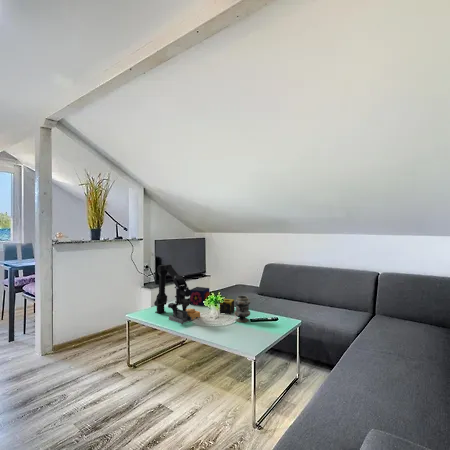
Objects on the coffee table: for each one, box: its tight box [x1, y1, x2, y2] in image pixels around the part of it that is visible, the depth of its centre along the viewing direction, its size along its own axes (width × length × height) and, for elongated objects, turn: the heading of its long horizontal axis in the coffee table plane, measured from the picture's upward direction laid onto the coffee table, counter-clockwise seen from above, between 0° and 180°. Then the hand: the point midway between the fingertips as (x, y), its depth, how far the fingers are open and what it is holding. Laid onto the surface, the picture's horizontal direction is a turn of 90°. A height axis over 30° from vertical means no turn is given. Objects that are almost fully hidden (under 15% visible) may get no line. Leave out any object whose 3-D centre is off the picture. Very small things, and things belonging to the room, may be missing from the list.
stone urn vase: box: [233, 295, 251, 323], centre depth 227 cm, size 12×12×18 cm
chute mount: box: [168, 315, 193, 325], centre depth 230 cm, size 16×10×3 cm, turn 48°
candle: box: [219, 298, 236, 315], centre depth 248 cm, size 10×10×10 cm
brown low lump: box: [186, 307, 201, 320], centre depth 237 cm, size 12×10×6 cm
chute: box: [172, 308, 187, 321], centre depth 229 cm, size 11×5×6 cm, turn 48°
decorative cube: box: [189, 286, 211, 307], centre depth 276 cm, size 16×16×14 cm
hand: (180, 315), depth 230 cm, fingers open, 7 cm apart
